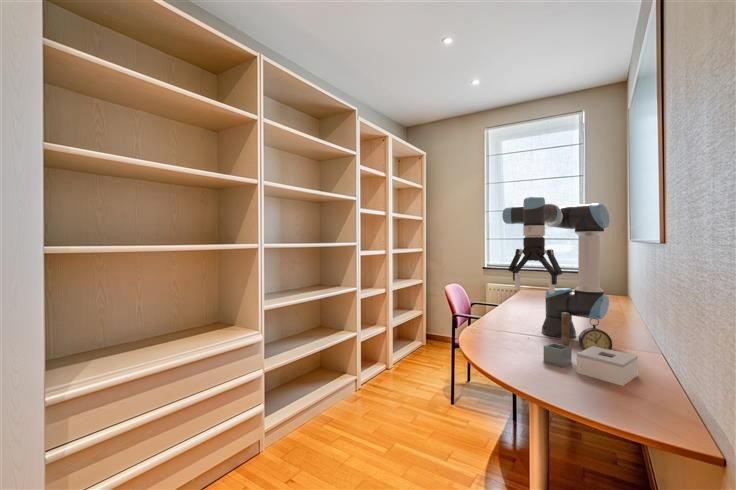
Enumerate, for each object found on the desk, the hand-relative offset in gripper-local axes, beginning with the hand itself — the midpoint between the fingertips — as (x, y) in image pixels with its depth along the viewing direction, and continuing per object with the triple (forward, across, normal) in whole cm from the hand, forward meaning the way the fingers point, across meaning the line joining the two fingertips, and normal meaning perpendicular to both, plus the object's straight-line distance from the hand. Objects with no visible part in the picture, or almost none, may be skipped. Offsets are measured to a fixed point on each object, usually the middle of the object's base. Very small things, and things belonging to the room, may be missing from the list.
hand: (533, 291), depth 133 cm
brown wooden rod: (+28, +5, +16) cm, 33 cm away
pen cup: (+28, +6, +7) cm, 29 cm away
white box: (+28, +22, +9) cm, 36 cm away
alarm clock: (+28, +12, +25) cm, 39 cm away
